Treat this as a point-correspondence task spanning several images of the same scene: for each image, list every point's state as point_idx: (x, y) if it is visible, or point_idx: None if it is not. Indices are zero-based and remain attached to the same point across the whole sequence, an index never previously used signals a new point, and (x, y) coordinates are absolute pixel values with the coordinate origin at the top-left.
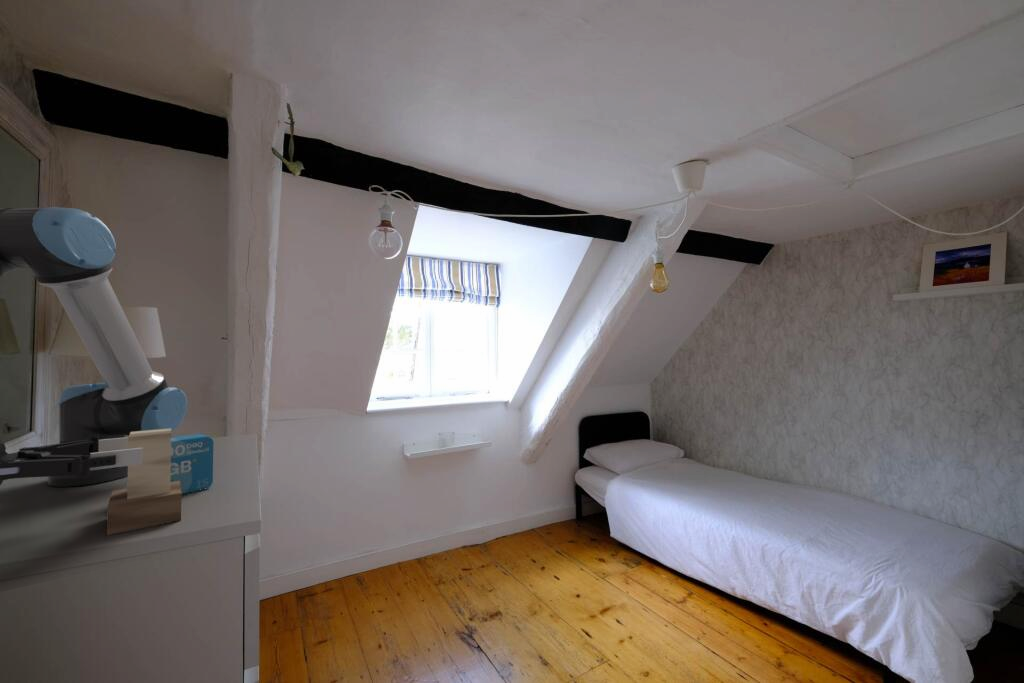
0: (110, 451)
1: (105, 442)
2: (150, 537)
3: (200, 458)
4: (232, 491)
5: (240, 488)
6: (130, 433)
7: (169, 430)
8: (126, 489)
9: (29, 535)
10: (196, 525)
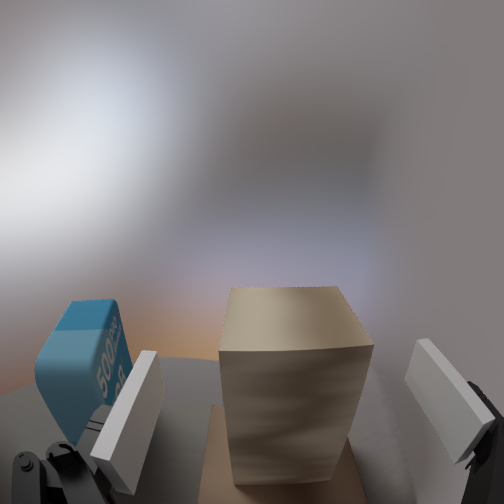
0: (465, 384)
1: (123, 448)
2: (396, 458)
3: (122, 350)
4: (193, 376)
5: (184, 367)
6: (275, 349)
7: (281, 289)
8: (213, 489)
9: None
10: (365, 415)
